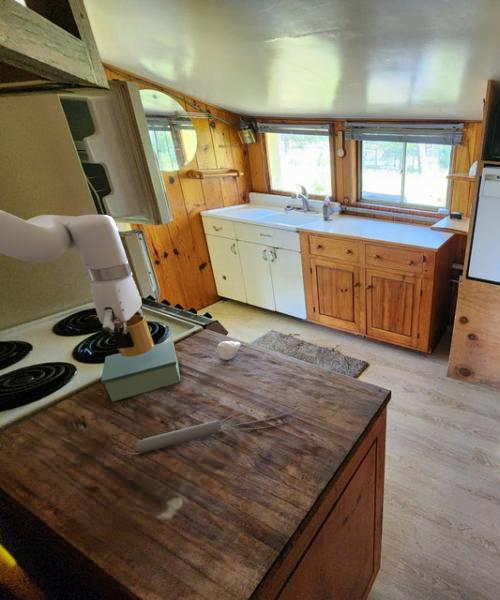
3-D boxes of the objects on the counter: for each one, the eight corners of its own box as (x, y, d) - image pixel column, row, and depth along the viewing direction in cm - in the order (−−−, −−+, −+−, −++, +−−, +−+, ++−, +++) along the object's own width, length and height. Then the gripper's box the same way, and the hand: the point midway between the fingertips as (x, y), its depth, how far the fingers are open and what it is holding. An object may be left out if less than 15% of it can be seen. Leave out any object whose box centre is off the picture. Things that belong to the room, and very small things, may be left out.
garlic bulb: (247, 352, 99) (244, 336, 97) (231, 362, 94) (228, 346, 92) (233, 347, 101) (230, 332, 98) (217, 358, 96) (213, 342, 93)
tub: (110, 403, 78) (100, 381, 75) (114, 377, 86) (105, 356, 83) (182, 382, 85) (175, 361, 83) (178, 360, 94) (173, 340, 91)
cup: (114, 358, 78) (103, 329, 75) (128, 343, 84) (118, 316, 81) (147, 355, 80) (137, 326, 76) (158, 340, 86) (149, 313, 82)
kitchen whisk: (133, 442, 68) (123, 420, 65) (300, 407, 79) (298, 387, 77) (122, 467, 63) (111, 444, 60) (302, 426, 74) (300, 405, 71)
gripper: (109, 260, 80) (132, 323, 87) (64, 287, 65) (96, 361, 72) (145, 259, 82) (164, 321, 89) (109, 285, 66) (135, 357, 74)
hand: (133, 338), depth 81 cm, fingers closed on cup, 6 cm apart
